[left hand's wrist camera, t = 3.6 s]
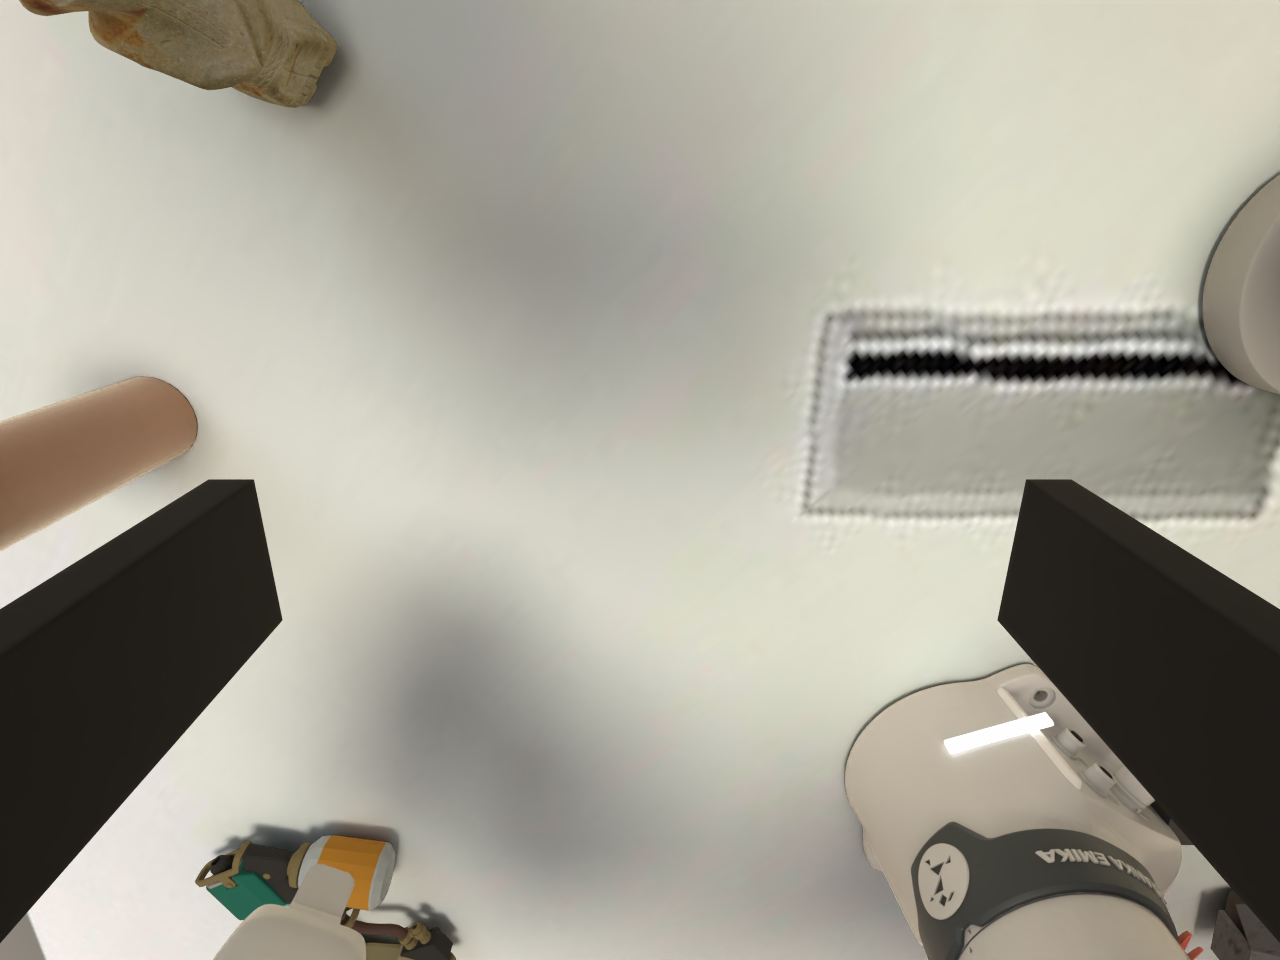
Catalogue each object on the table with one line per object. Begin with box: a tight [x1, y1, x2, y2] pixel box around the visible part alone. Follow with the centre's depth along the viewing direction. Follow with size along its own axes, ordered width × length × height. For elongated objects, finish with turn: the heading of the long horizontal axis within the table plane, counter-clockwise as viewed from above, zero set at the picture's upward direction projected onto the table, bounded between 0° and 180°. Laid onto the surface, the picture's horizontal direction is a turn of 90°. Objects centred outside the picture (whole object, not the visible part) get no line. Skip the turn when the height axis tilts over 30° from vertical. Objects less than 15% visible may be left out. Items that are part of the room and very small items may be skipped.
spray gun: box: [195, 835, 456, 960], centre depth 52 cm, size 4×17×15 cm
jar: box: [0, 377, 197, 551], centre depth 33 cm, size 5×5×15 cm
